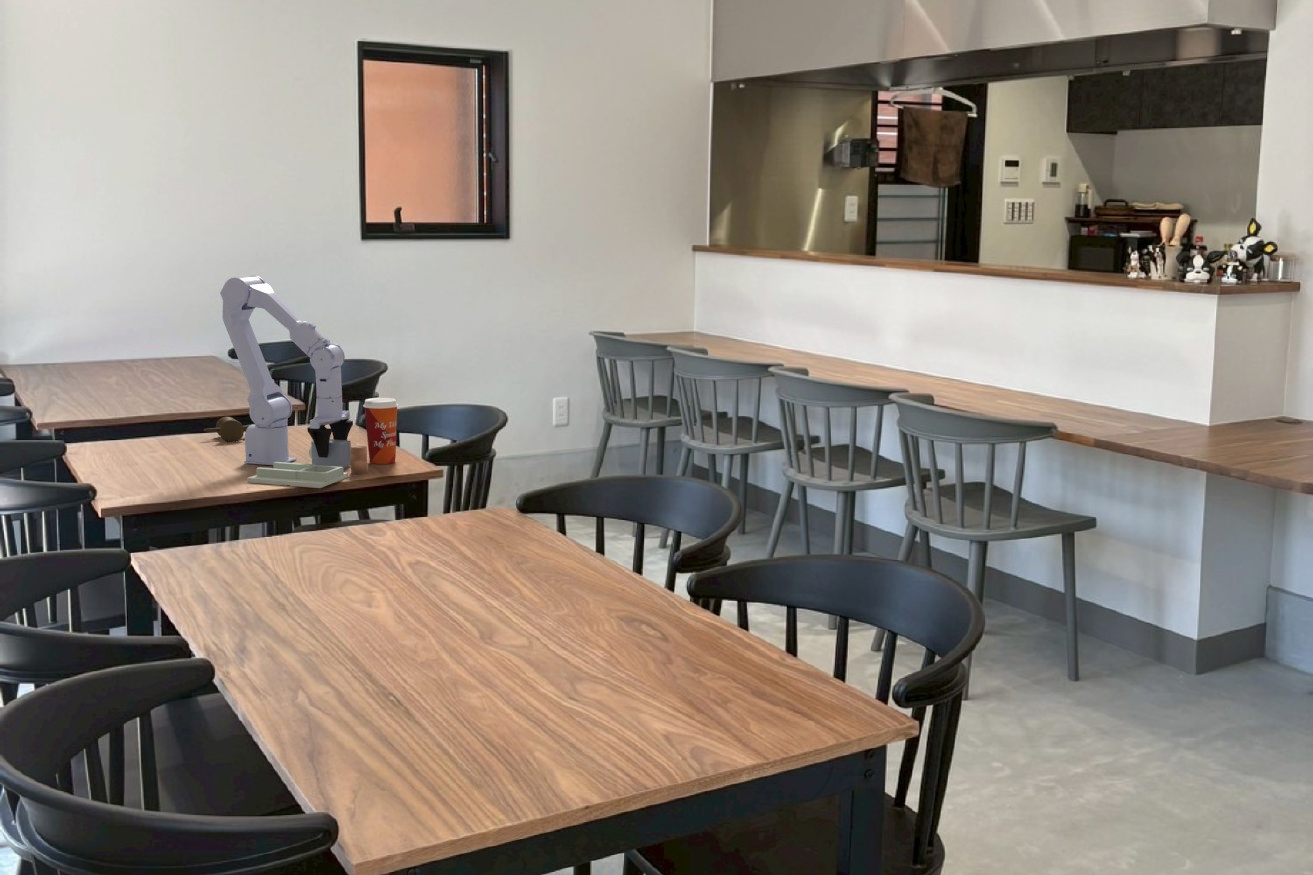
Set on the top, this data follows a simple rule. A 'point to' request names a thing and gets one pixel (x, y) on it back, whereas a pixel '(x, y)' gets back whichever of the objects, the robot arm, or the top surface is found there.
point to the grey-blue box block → (333, 454)
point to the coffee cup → (381, 429)
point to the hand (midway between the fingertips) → (331, 454)
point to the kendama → (229, 429)
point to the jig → (298, 475)
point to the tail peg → (358, 460)
